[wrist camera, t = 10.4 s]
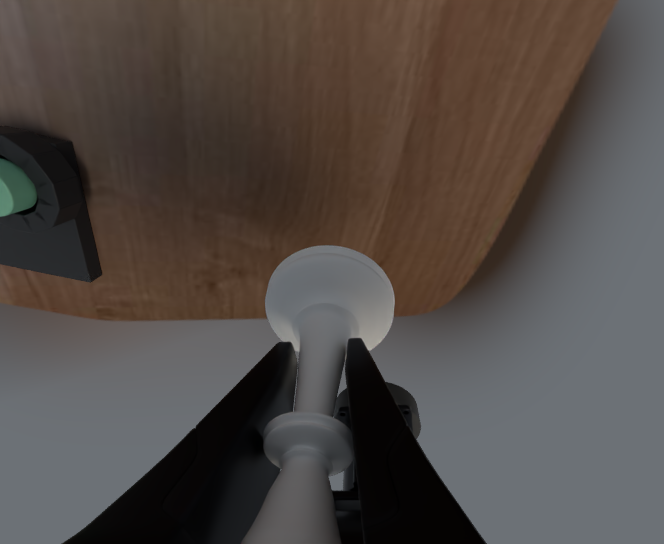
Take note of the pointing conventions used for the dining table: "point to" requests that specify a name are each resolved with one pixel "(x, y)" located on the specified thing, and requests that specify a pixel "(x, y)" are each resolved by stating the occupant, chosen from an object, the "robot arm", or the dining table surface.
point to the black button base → (48, 210)
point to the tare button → (15, 189)
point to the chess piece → (316, 385)
